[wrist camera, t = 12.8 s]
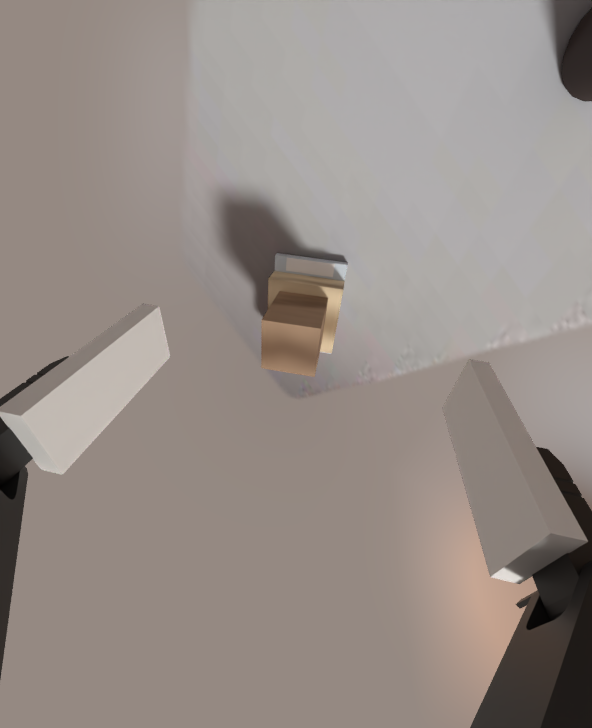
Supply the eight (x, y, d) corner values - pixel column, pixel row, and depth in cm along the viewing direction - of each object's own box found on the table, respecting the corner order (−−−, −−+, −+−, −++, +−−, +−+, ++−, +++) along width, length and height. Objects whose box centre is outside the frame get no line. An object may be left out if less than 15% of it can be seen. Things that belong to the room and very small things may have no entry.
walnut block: (279, 290, 36) (261, 319, 30) (328, 297, 36) (320, 328, 29) (277, 333, 40) (261, 368, 33) (322, 340, 39) (314, 376, 33)
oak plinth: (274, 271, 38) (268, 278, 36) (344, 281, 37) (343, 289, 35) (271, 332, 43) (266, 342, 41) (333, 342, 42) (331, 353, 40)
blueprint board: (276, 252, 38) (274, 255, 37) (347, 262, 37) (347, 265, 36) (273, 340, 45) (271, 344, 44) (331, 350, 44) (331, 354, 43)
